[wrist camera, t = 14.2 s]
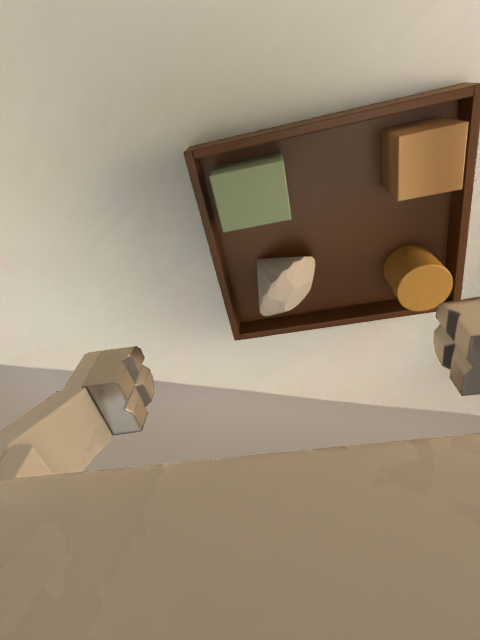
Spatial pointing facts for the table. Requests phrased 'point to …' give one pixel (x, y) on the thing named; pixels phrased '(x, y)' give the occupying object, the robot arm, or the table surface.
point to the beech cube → (424, 157)
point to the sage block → (251, 192)
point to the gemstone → (283, 282)
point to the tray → (338, 213)
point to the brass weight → (417, 278)
